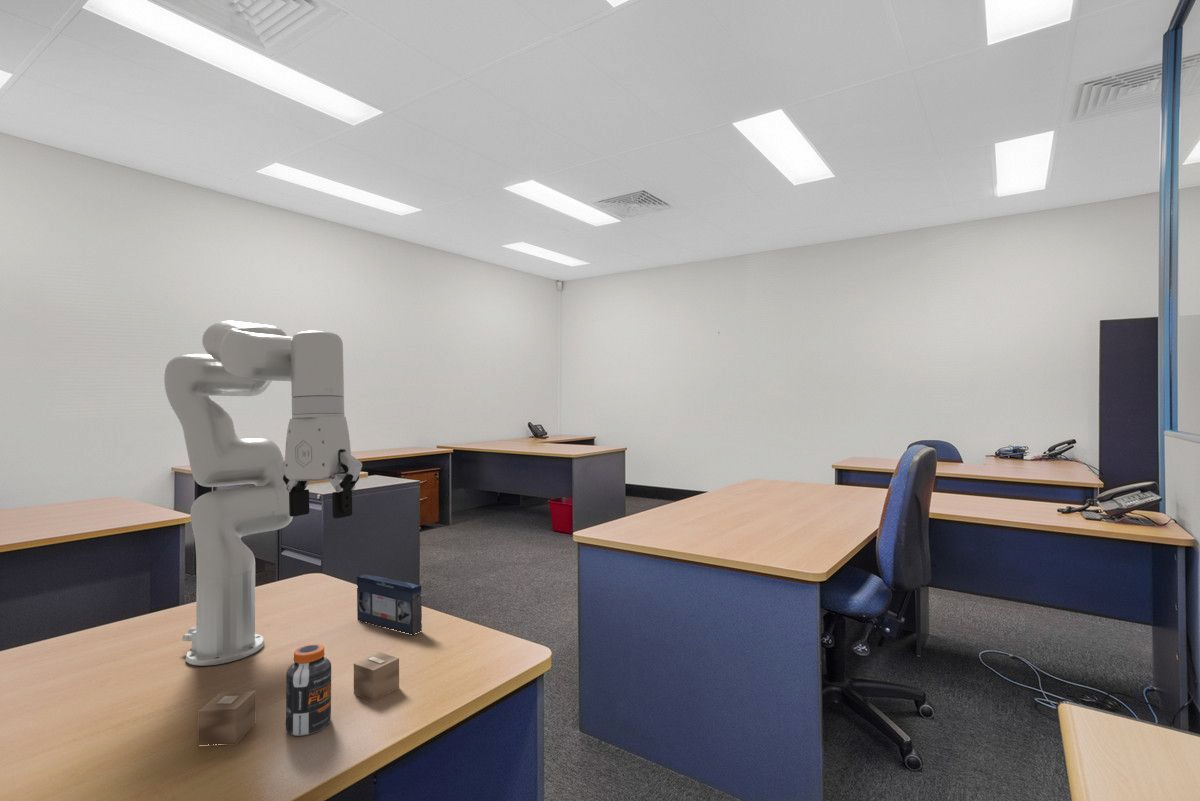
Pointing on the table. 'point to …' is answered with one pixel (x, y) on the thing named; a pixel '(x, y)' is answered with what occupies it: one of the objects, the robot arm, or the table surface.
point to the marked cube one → (226, 718)
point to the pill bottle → (308, 691)
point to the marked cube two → (376, 676)
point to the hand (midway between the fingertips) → (320, 516)
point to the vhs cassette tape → (389, 603)
